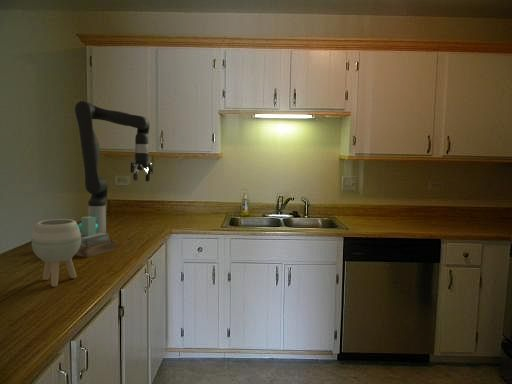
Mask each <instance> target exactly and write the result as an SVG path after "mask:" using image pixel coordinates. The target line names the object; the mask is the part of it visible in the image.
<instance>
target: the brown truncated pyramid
mask: <svg viewBox="0 0 512 384" xmlns="http://www.w3.org/2000/svg"><path fill="white" fill-rule="evenodd" d="M80 234H81V232H80ZM115 250H116V241H115V240H114V239H111V240H110V234H109V233H107V232H106V233H99V232H96V234H95V235H91V236H84V235H81V245H80V248H79V250H78V252H77V253H76V254H75V255H74V256H78V257H82V258H91V257H95V256H97V255H101V254H105V253H108V252H111V251H112V252H113V251H115Z"/></svg>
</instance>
